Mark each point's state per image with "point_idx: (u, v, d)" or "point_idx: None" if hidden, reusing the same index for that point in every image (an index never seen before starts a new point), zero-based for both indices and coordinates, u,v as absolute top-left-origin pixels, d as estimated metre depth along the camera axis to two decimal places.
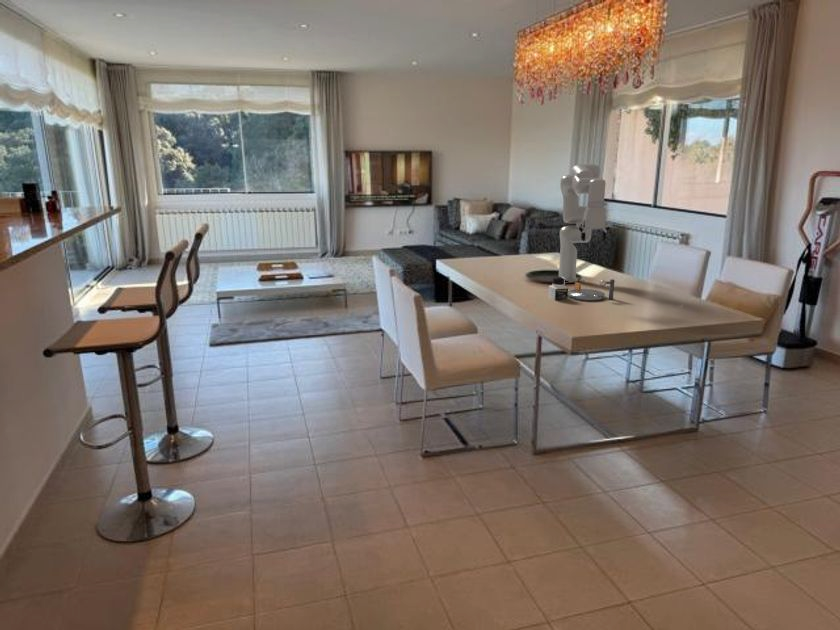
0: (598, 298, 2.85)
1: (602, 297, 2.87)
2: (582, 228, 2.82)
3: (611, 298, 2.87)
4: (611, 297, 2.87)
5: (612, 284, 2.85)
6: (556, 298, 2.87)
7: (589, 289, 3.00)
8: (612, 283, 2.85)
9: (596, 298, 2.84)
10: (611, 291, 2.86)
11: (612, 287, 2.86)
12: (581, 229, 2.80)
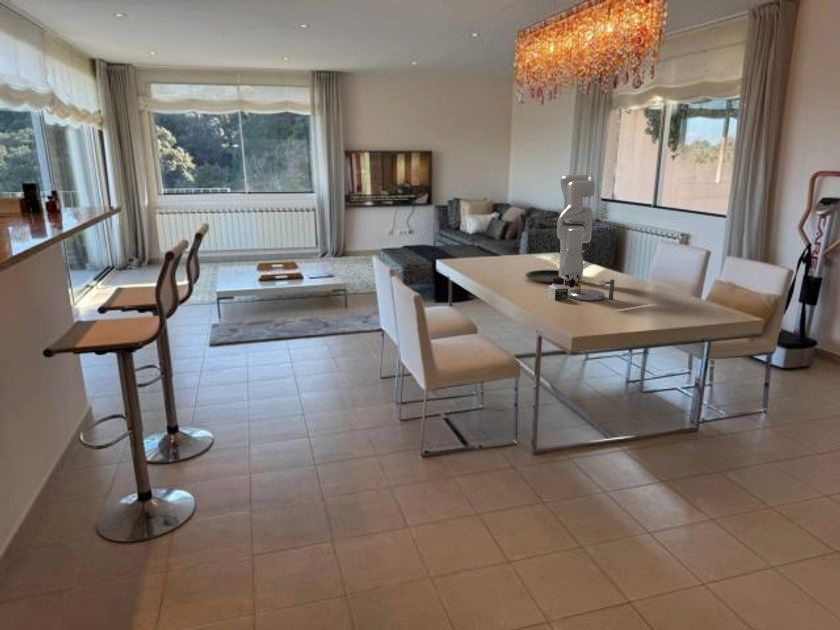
0: (598, 298, 2.85)
1: (602, 297, 2.87)
2: None
3: (611, 298, 2.87)
4: (611, 297, 2.87)
5: (612, 284, 2.85)
6: (556, 298, 2.87)
7: (589, 289, 3.00)
8: (612, 283, 2.85)
9: (596, 298, 2.84)
10: (611, 291, 2.86)
11: (612, 287, 2.86)
12: (568, 277, 2.96)
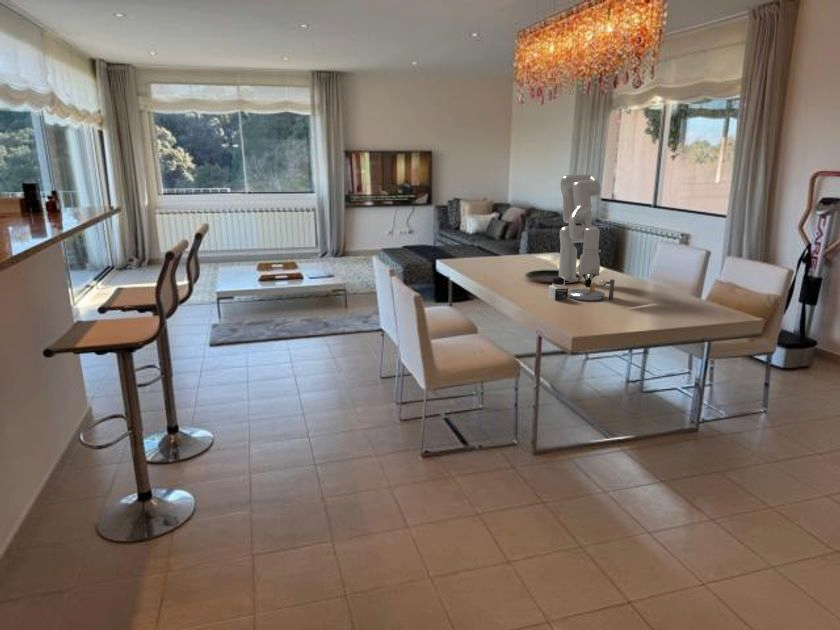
0: (577, 297, 2.86)
1: (584, 298, 2.85)
2: None
3: (611, 298, 2.87)
4: (611, 297, 2.87)
5: (612, 284, 2.85)
6: (556, 298, 2.87)
7: (603, 293, 2.92)
8: (612, 283, 2.85)
9: (575, 297, 2.87)
10: (611, 291, 2.86)
11: (612, 287, 2.86)
12: (585, 276, 2.96)
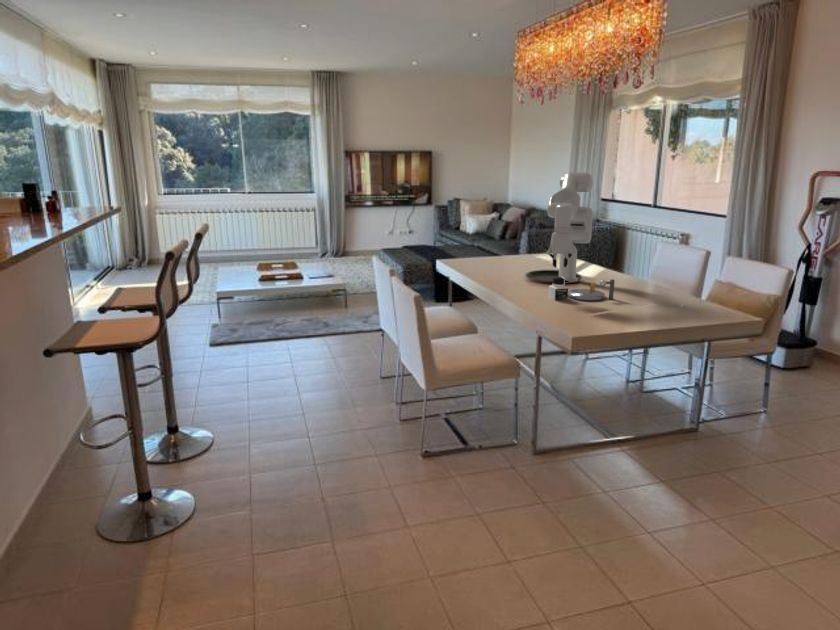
0: (577, 297, 2.86)
1: (584, 298, 2.85)
2: (552, 255, 2.86)
3: (611, 298, 2.87)
4: (611, 297, 2.87)
5: (612, 284, 2.85)
6: (556, 298, 2.87)
7: (603, 293, 2.92)
8: (612, 283, 2.85)
9: (575, 297, 2.87)
10: (611, 291, 2.86)
11: (612, 287, 2.86)
12: (552, 256, 2.84)
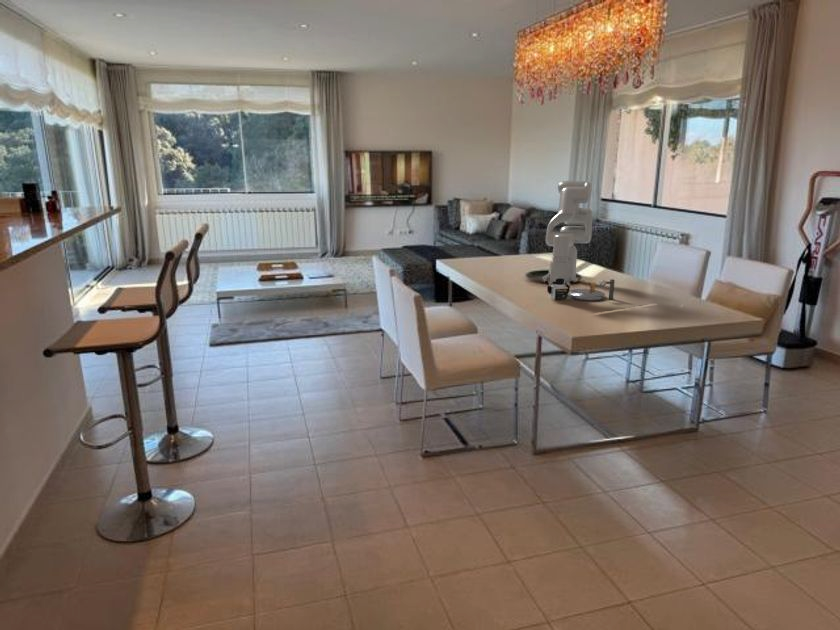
0: (577, 297, 2.86)
1: (584, 298, 2.85)
2: (548, 281, 2.90)
3: (611, 298, 2.87)
4: (611, 297, 2.87)
5: (612, 284, 2.85)
6: (556, 298, 2.87)
7: (603, 293, 2.92)
8: (612, 283, 2.85)
9: (575, 297, 2.87)
10: (611, 291, 2.86)
11: (612, 287, 2.86)
12: (547, 282, 2.88)
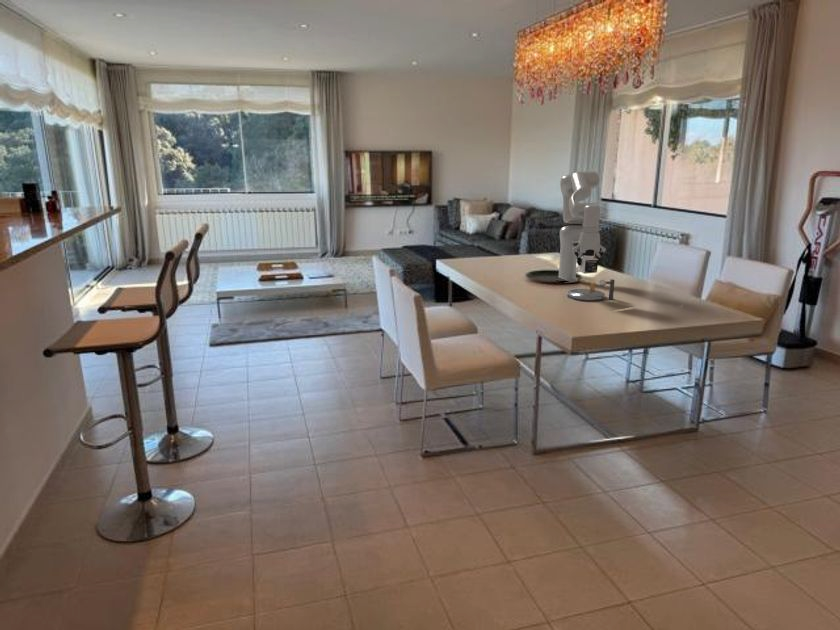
0: (577, 297, 2.86)
1: (584, 298, 2.85)
2: (578, 253, 2.88)
3: (611, 298, 2.87)
4: (611, 297, 2.87)
5: (612, 284, 2.85)
6: (586, 269, 2.85)
7: (603, 293, 2.92)
8: (612, 283, 2.85)
9: (575, 297, 2.87)
10: (611, 291, 2.86)
11: (612, 287, 2.86)
12: (577, 254, 2.86)
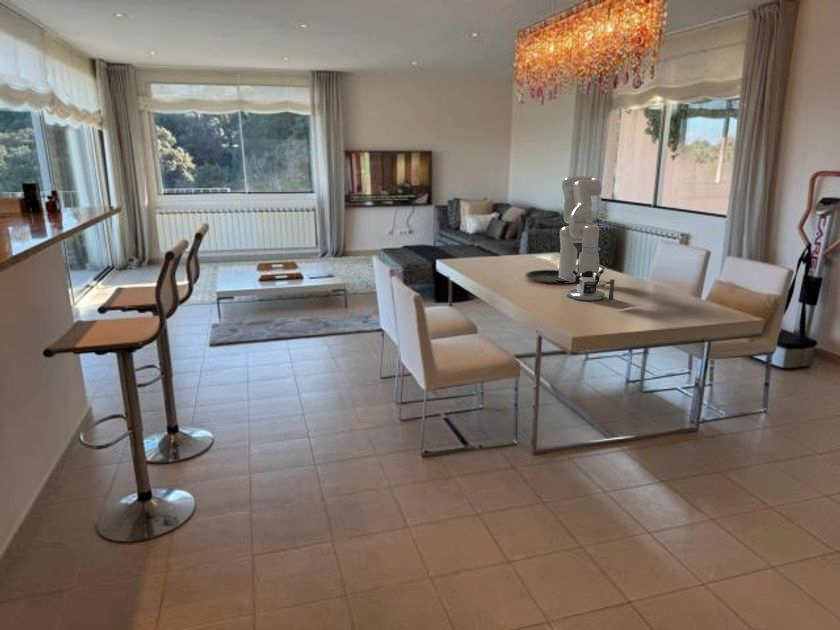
0: (577, 297, 2.86)
1: (584, 298, 2.85)
2: None
3: (611, 298, 2.87)
4: (611, 297, 2.87)
5: (612, 284, 2.85)
6: (585, 291, 2.88)
7: (603, 293, 2.92)
8: (612, 283, 2.85)
9: (575, 297, 2.87)
10: (611, 291, 2.86)
11: (612, 287, 2.86)
12: (575, 273, 2.89)
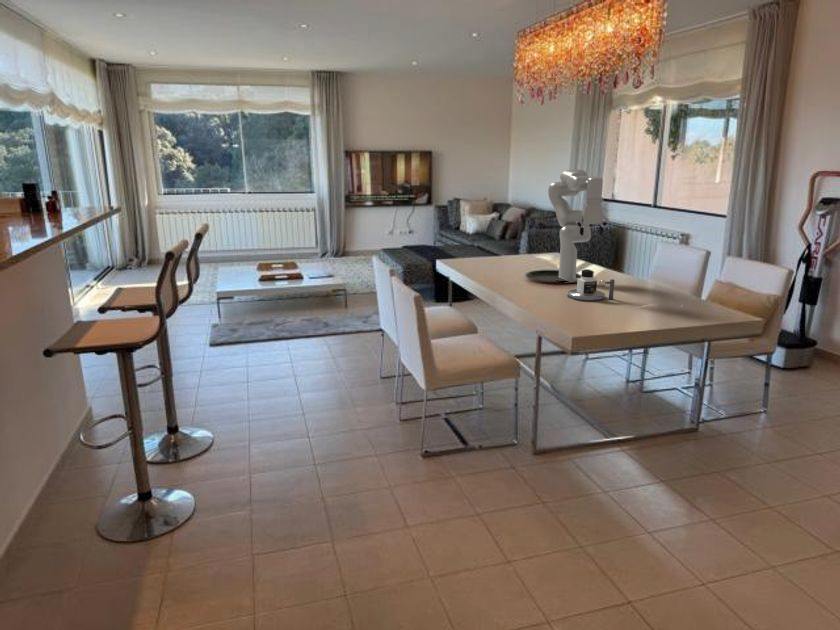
0: (577, 297, 2.86)
1: (584, 298, 2.85)
2: (581, 223, 3.00)
3: (611, 298, 2.87)
4: (611, 297, 2.87)
5: (612, 284, 2.85)
6: (585, 291, 2.88)
7: (603, 293, 2.92)
8: (612, 283, 2.85)
9: (575, 297, 2.87)
10: (611, 291, 2.86)
11: (612, 287, 2.86)
12: (580, 224, 2.98)
